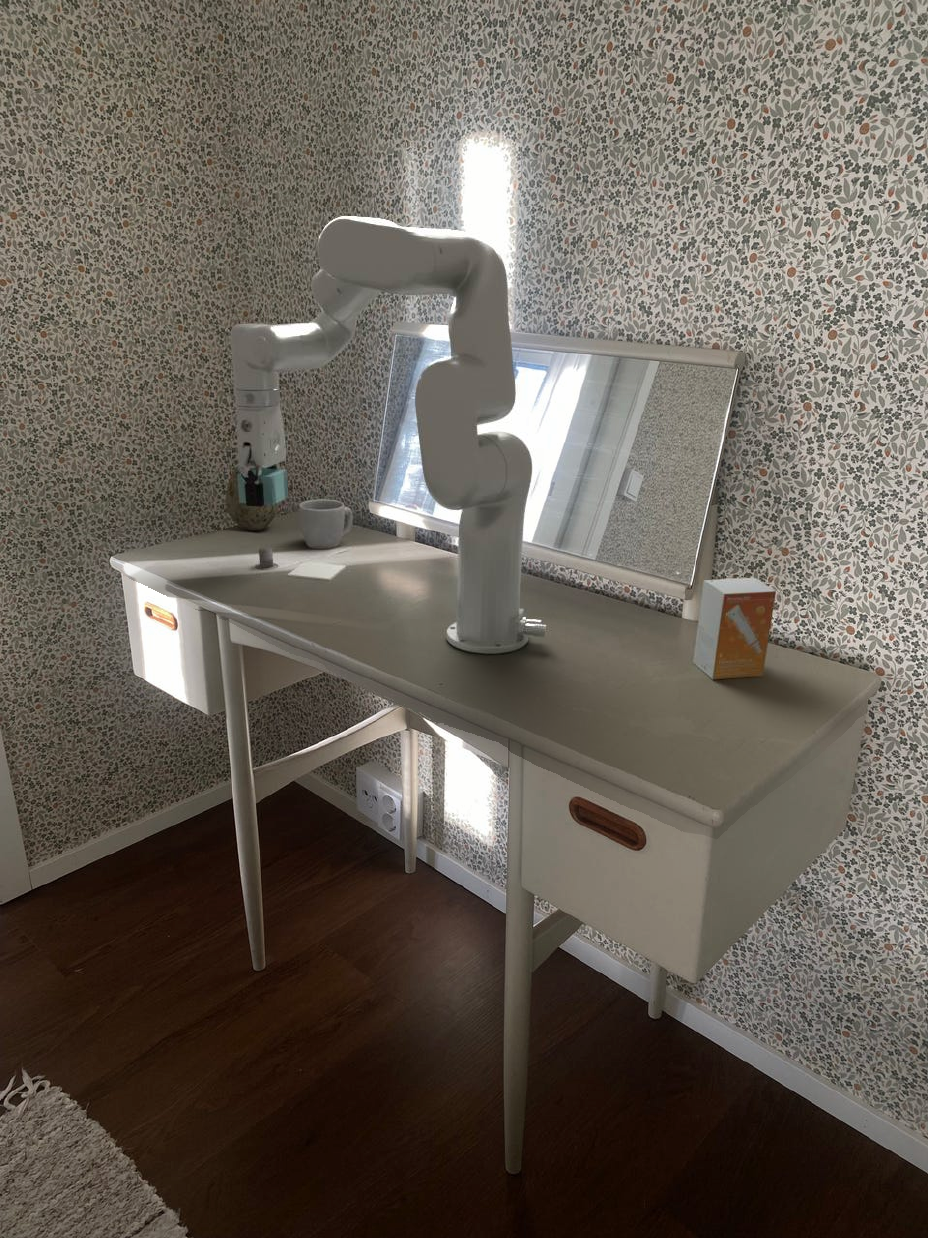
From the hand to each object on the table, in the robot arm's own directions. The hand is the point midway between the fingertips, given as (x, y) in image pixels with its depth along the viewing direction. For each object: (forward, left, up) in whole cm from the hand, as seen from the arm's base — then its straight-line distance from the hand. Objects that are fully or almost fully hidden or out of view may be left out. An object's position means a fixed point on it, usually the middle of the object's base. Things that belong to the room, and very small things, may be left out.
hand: (264, 500), depth 166 cm
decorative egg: (+16, -27, -14) cm, 35 cm away
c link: (0, 0, 0) cm, 0 cm away
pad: (-10, 0, -13) cm, 16 cm away
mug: (-5, -18, -14) cm, 23 cm away
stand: (-5, 0, -14) cm, 15 cm away
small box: (-82, +20, -14) cm, 85 cm away
